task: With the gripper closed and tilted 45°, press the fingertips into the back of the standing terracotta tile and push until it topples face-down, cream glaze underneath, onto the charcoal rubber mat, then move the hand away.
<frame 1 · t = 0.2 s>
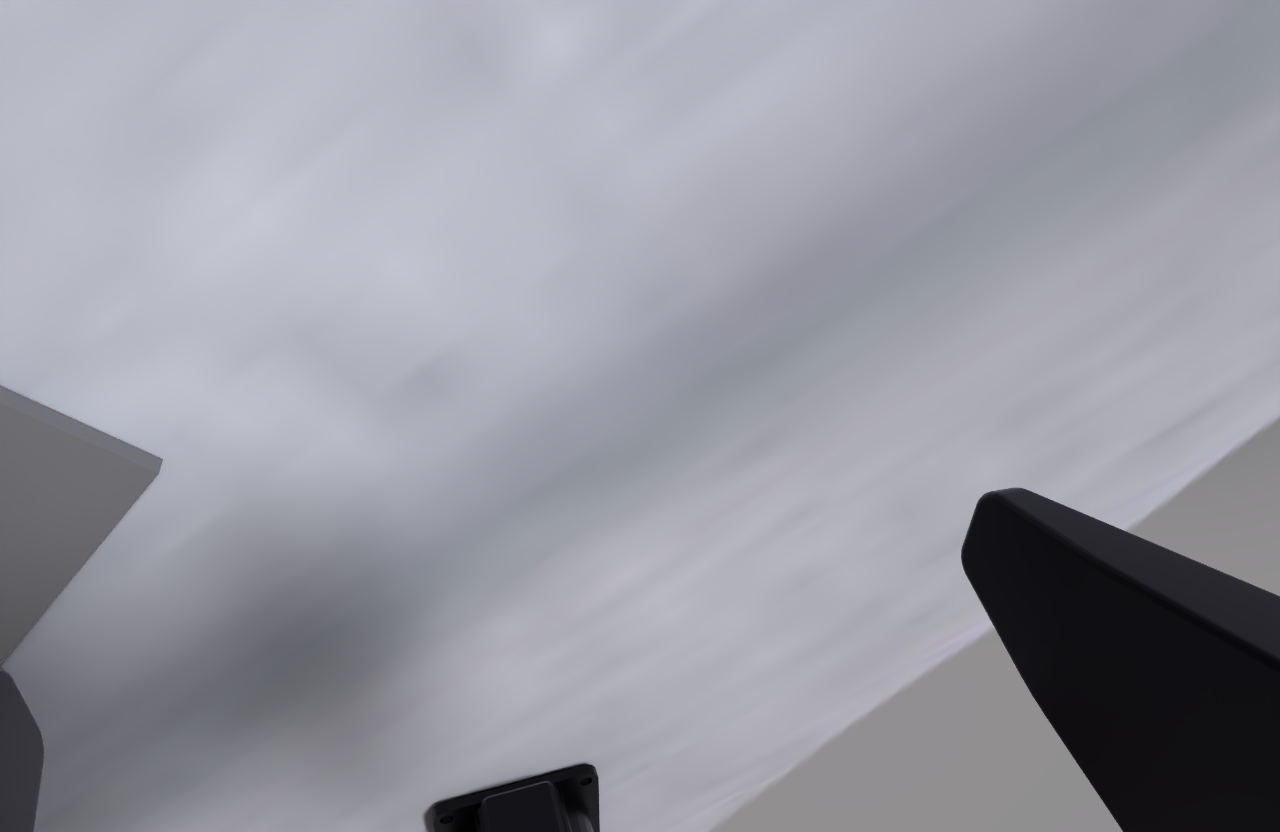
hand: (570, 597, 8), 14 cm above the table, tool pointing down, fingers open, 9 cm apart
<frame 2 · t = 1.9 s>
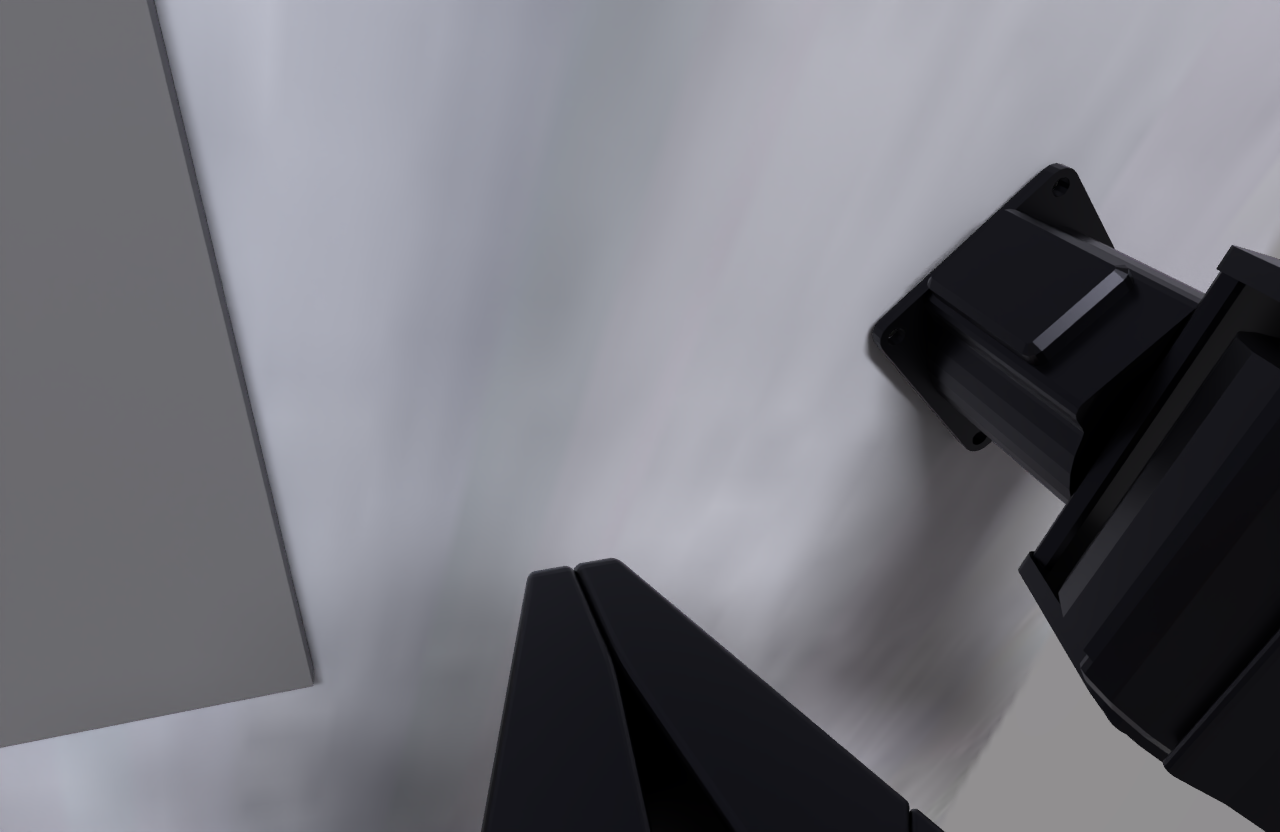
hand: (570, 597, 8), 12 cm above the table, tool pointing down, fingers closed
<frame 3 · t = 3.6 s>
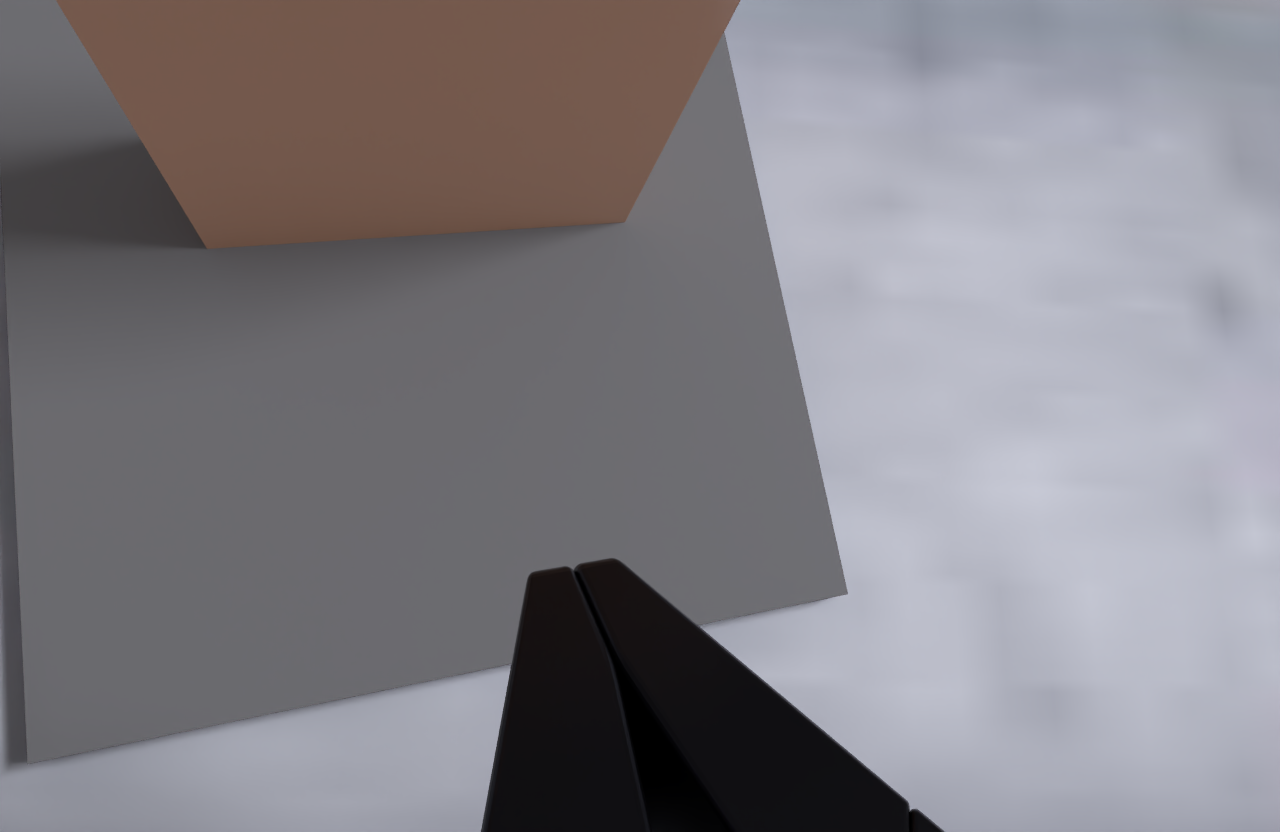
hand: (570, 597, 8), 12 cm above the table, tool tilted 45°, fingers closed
tile: (421, 178, 21), point 1 cm above the table, touching mat
mat: (424, 205, 21), on the table
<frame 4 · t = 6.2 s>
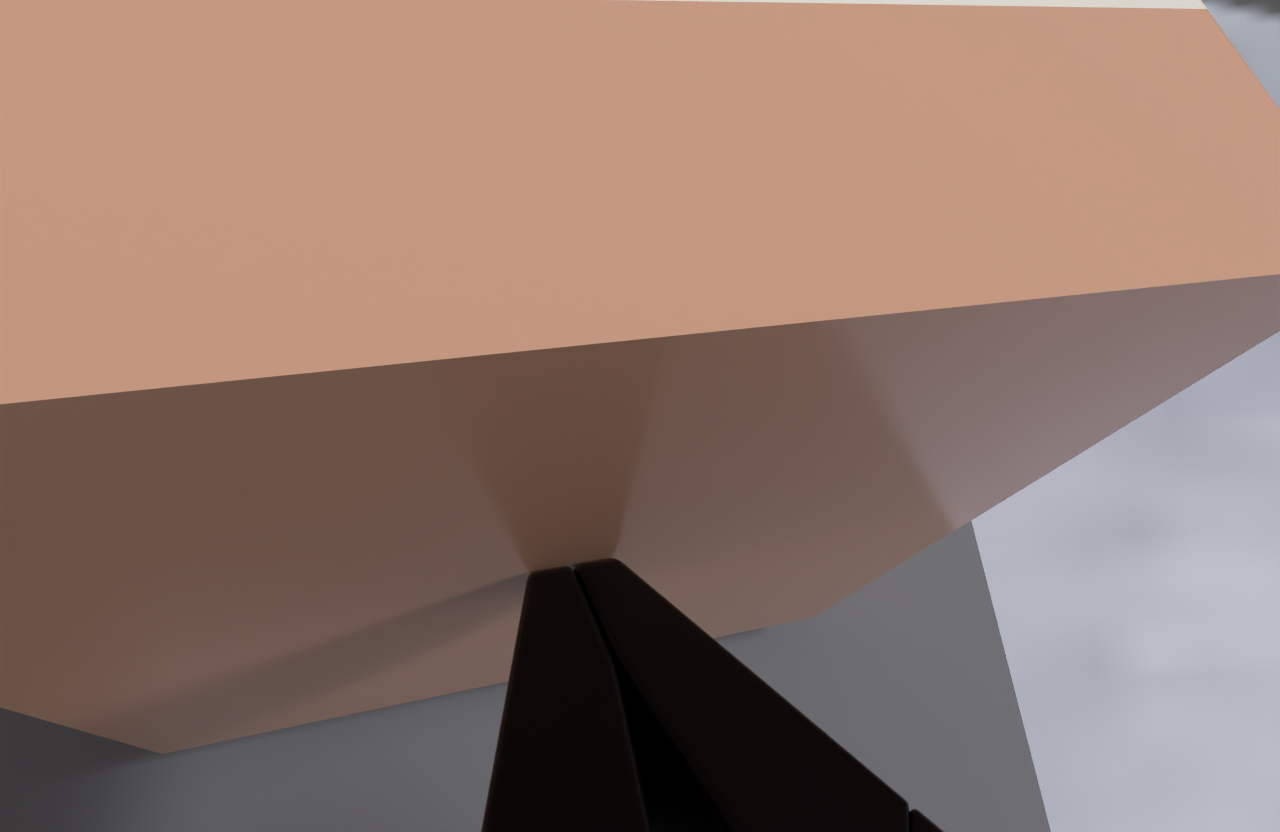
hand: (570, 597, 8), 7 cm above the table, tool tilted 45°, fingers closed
tile: (506, 583, 13), point 1 cm above the table, tilted 13°, touching mat
mat: (505, 613, 14), on the table
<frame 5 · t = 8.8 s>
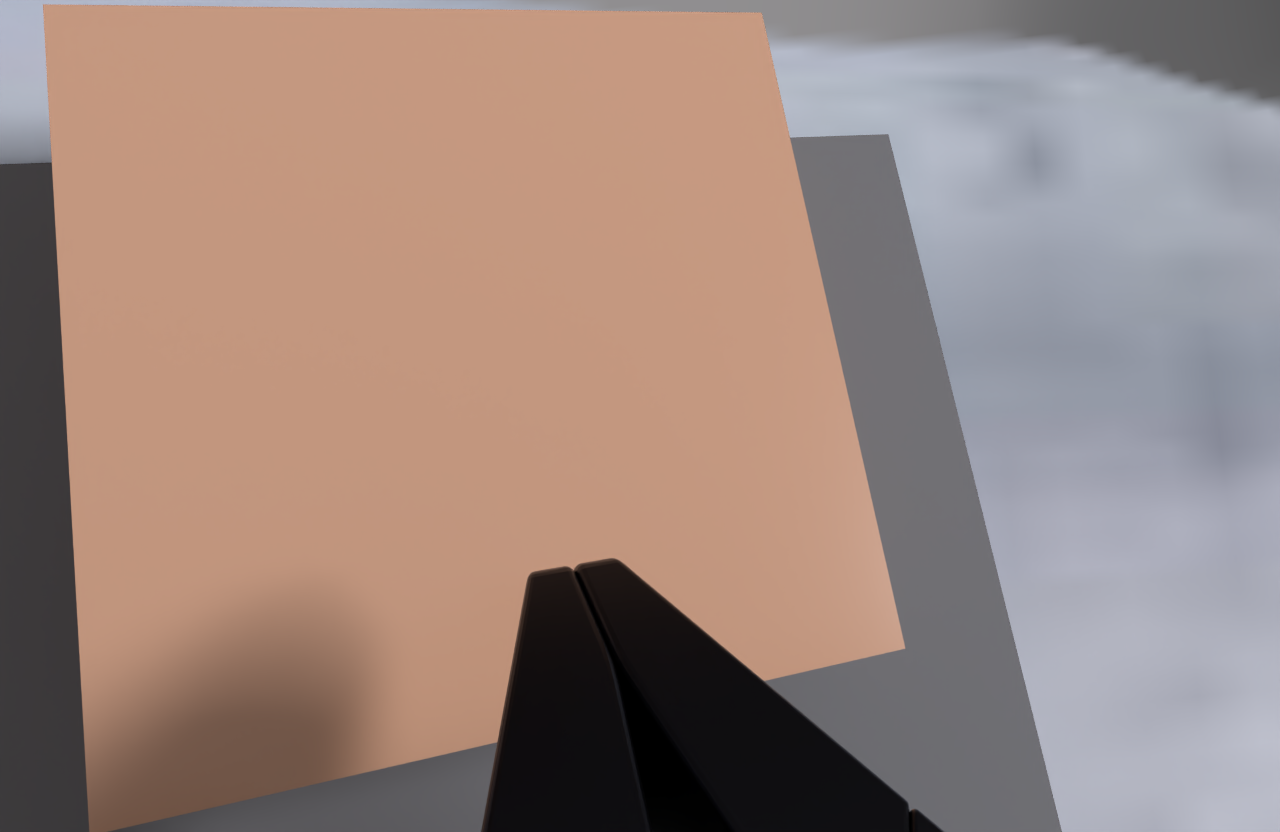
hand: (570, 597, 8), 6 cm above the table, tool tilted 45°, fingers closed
tile: (536, 714, 12), point 2 cm above the table, tilted 90°, touching mat
mat: (539, 828, 13), on the table
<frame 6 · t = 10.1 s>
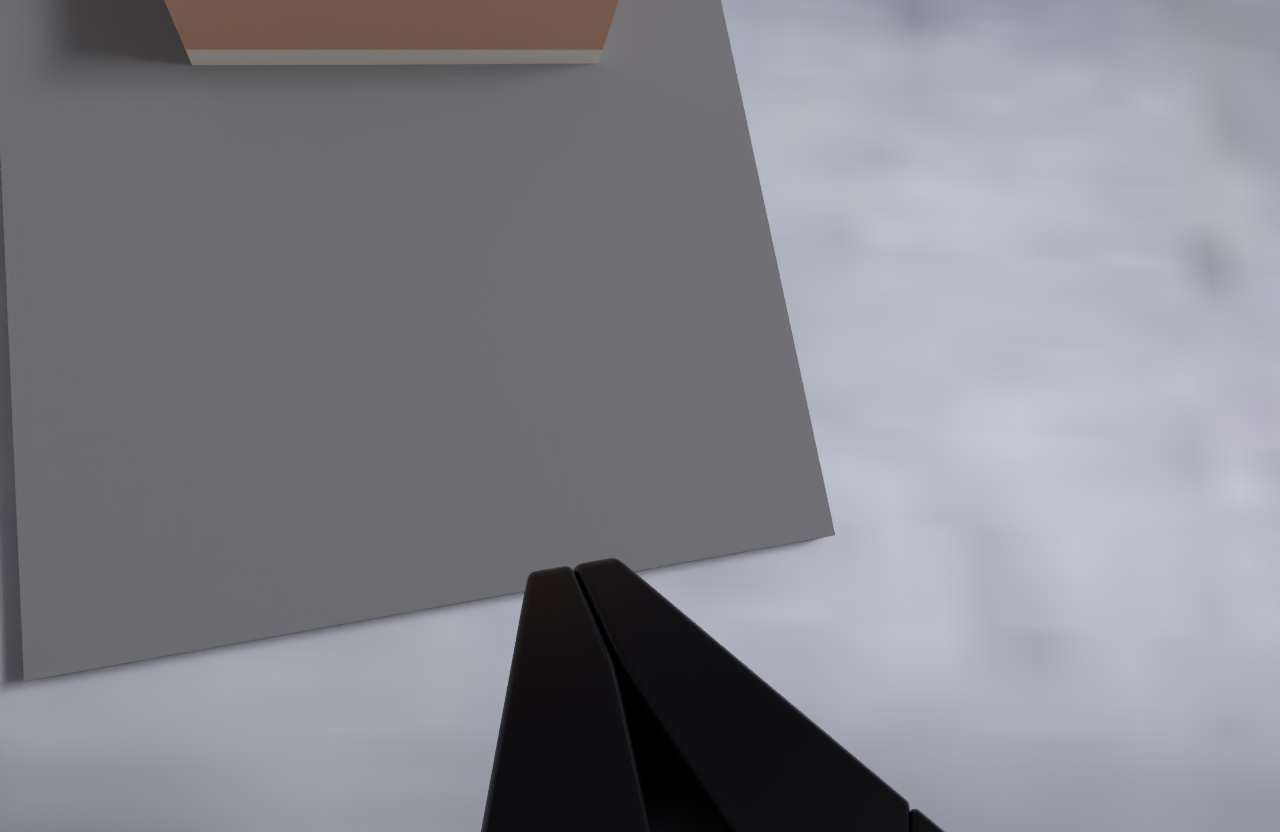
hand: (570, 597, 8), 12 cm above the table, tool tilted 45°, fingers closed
tile: (407, 26, 20), point 2 cm above the table, tilted 90°, touching mat
mat: (418, 148, 21), on the table
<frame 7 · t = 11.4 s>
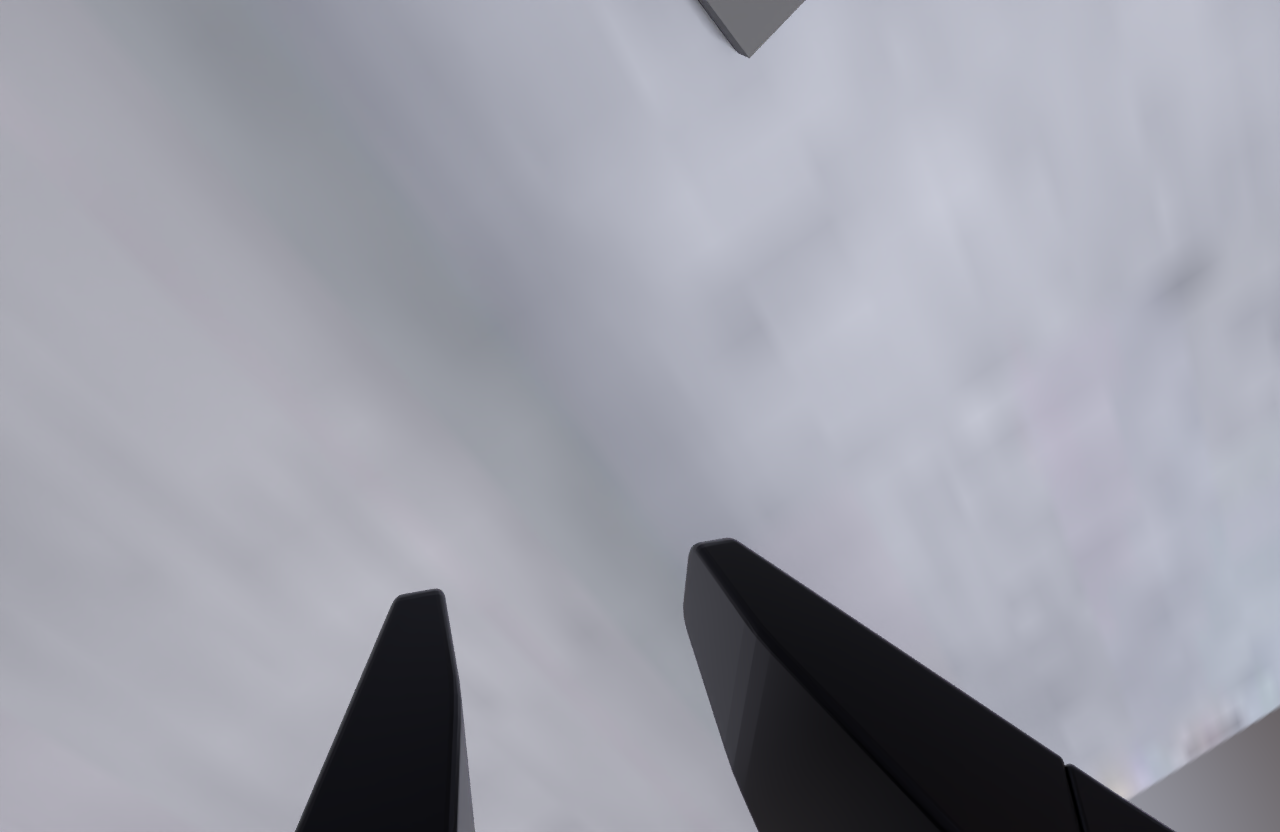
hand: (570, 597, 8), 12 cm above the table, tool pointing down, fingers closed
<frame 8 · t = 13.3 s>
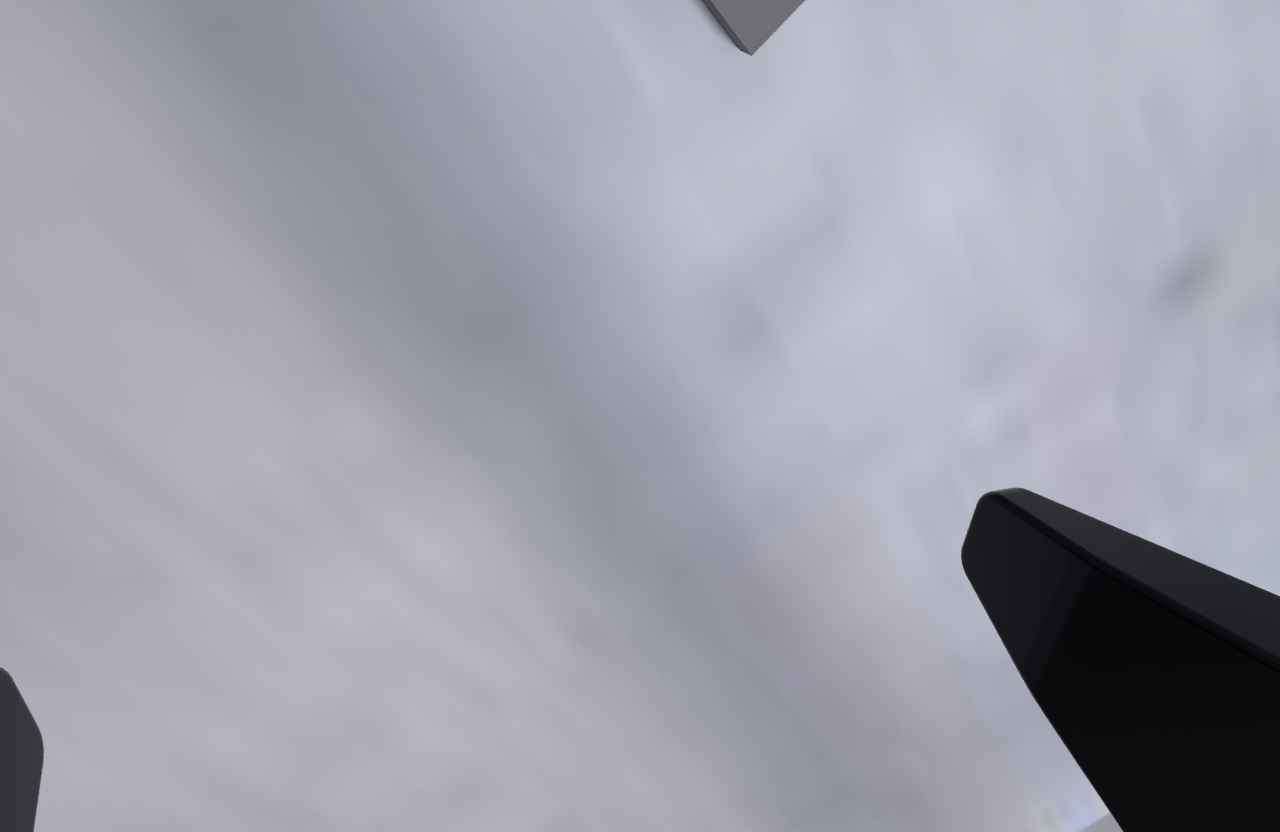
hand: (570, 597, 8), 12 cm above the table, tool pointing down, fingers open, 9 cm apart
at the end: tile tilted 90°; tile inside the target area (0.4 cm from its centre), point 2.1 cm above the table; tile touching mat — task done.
